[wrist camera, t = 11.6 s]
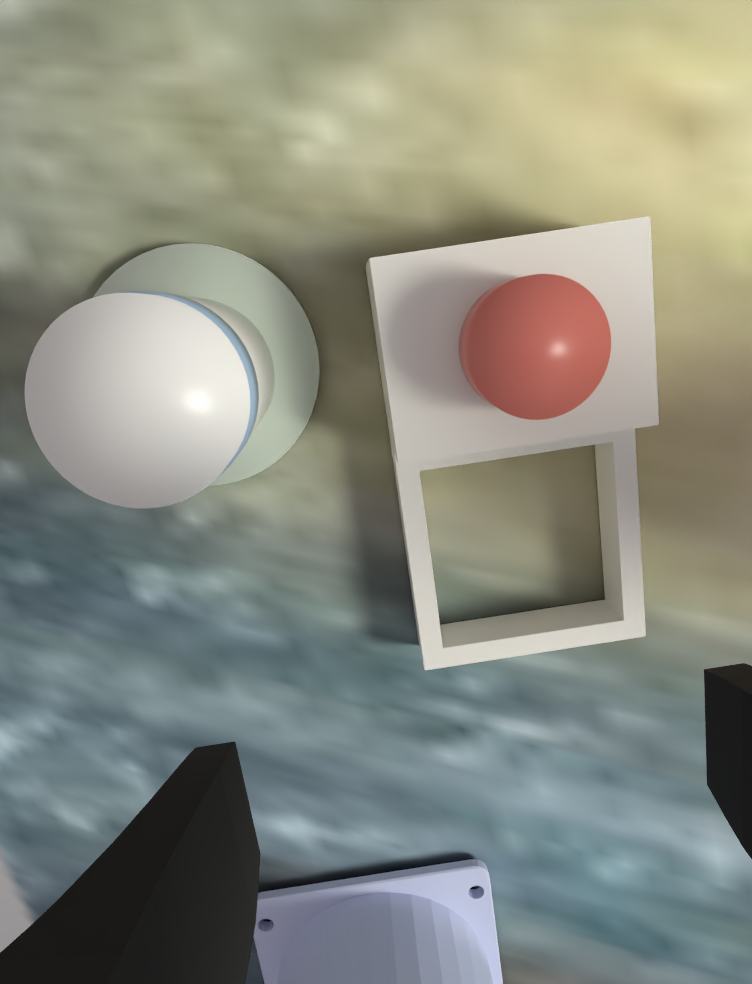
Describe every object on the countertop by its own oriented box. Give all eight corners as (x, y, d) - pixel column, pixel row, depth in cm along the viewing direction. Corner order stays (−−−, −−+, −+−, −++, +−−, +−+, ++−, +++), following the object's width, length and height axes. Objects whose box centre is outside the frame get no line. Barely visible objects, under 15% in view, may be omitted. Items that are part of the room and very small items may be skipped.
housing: (625, 614, 22) (668, 661, 19) (419, 646, 22) (431, 698, 19) (602, 230, 19) (650, 216, 16) (365, 266, 19) (369, 258, 16)
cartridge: (292, 432, 19) (270, 485, 14) (147, 465, 19) (64, 531, 14) (254, 280, 18) (213, 266, 12) (101, 315, 18) (-12, 317, 13)
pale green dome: (336, 464, 20) (336, 467, 20) (113, 498, 20) (108, 502, 20) (297, 227, 18) (297, 226, 18) (55, 263, 18) (49, 262, 18)
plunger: (561, 389, 19) (615, 408, 15) (451, 406, 19) (477, 429, 15) (552, 273, 18) (606, 263, 14) (437, 290, 18) (461, 285, 14)
